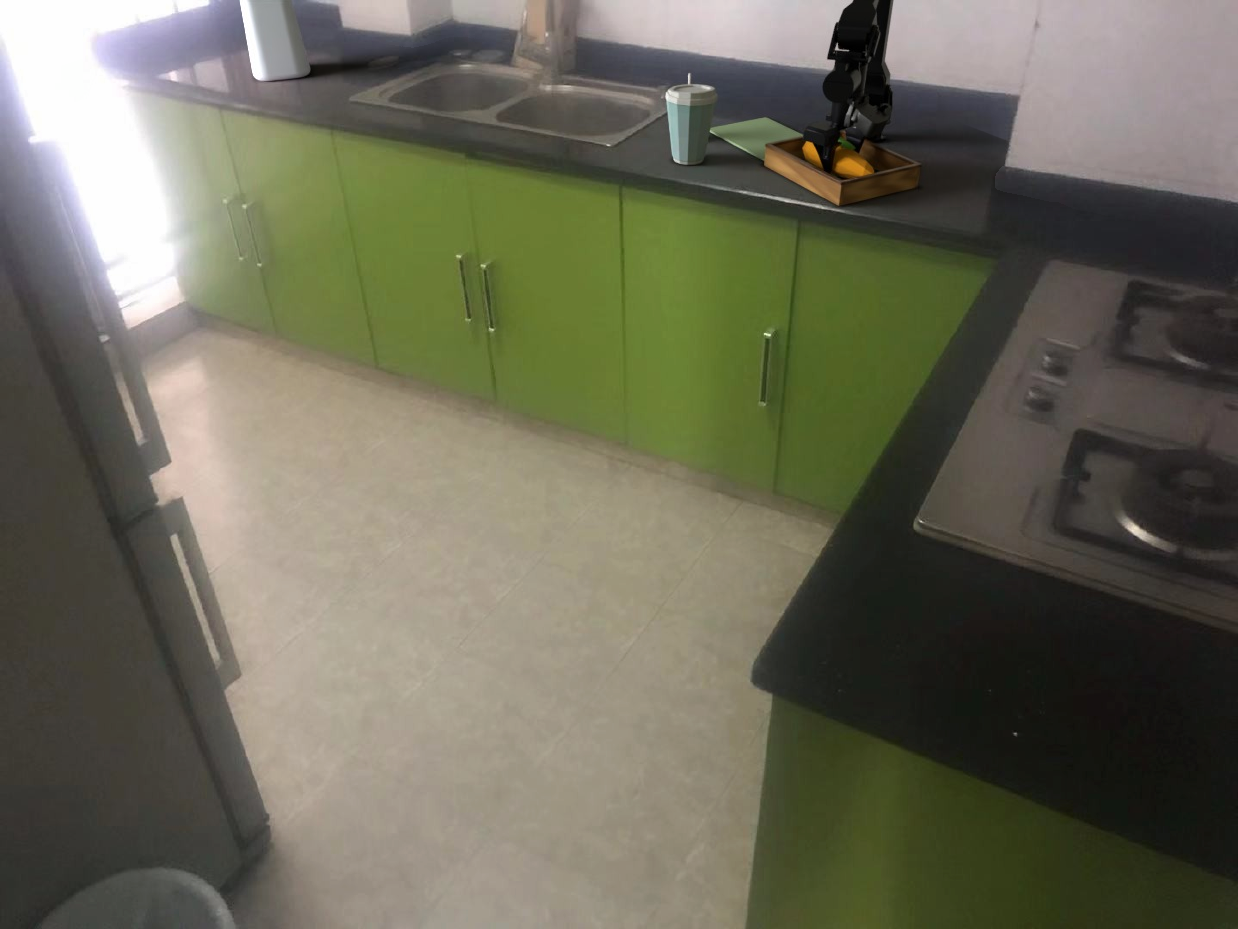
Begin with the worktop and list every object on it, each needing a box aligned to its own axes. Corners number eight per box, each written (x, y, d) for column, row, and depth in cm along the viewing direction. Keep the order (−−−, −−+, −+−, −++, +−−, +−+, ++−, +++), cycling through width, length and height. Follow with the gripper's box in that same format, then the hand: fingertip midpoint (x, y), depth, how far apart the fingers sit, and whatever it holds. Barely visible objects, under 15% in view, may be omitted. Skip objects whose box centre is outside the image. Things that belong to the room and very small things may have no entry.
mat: (765, 119, 221) (765, 116, 221) (828, 149, 204) (829, 146, 203) (706, 130, 215) (706, 128, 215) (766, 162, 198) (766, 160, 198)
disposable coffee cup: (656, 156, 203) (656, 83, 194) (700, 148, 206) (703, 76, 197) (677, 171, 195) (679, 96, 186) (724, 163, 198) (727, 89, 189)
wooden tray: (838, 149, 203) (840, 127, 201) (918, 187, 185) (922, 163, 183) (763, 165, 197) (764, 143, 194) (838, 206, 179) (841, 182, 176)
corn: (823, 120, 195) (891, 148, 181) (821, 157, 199) (887, 186, 185) (794, 129, 192) (861, 158, 178) (793, 166, 197) (858, 197, 183)
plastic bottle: (312, 77, 258) (288, -38, 241) (254, 83, 254) (226, -33, 237) (308, 63, 269) (285, -47, 252) (253, 69, 266) (226, -43, 249)
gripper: (853, 107, 171) (843, 191, 180) (913, 86, 181) (900, 166, 190) (804, 95, 178) (797, 176, 187) (865, 74, 187) (855, 153, 197)
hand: (839, 168), depth 190 cm, fingers closed on corn, 7 cm apart
